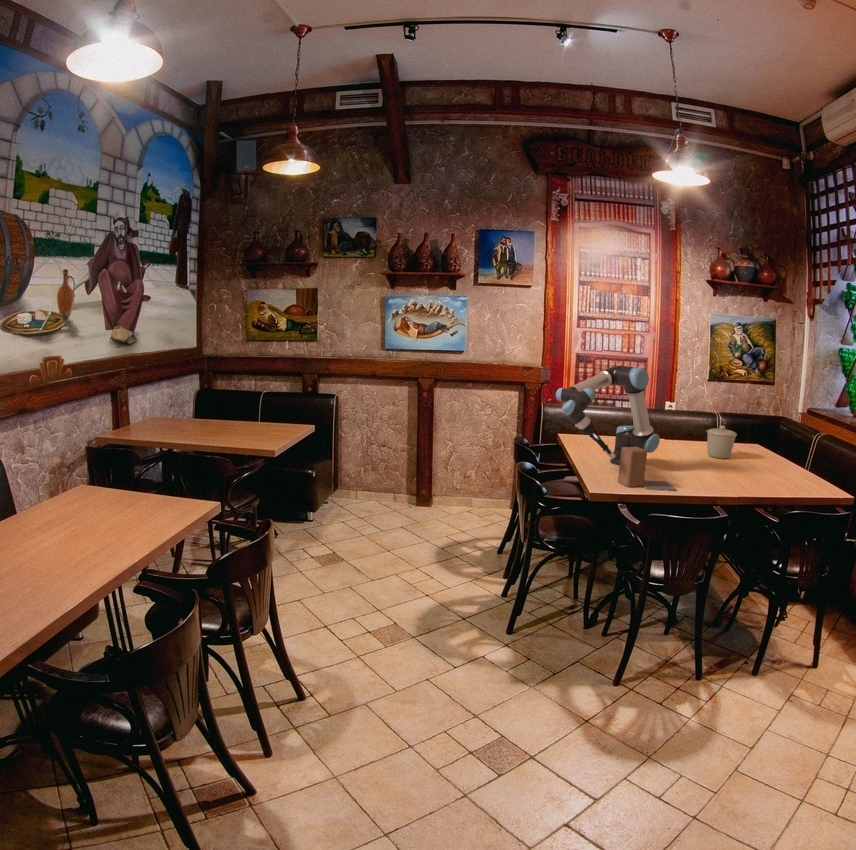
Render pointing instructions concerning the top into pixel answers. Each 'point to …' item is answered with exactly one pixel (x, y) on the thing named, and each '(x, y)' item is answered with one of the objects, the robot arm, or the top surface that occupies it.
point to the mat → (658, 485)
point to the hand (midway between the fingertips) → (613, 457)
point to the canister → (720, 442)
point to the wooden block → (632, 466)
